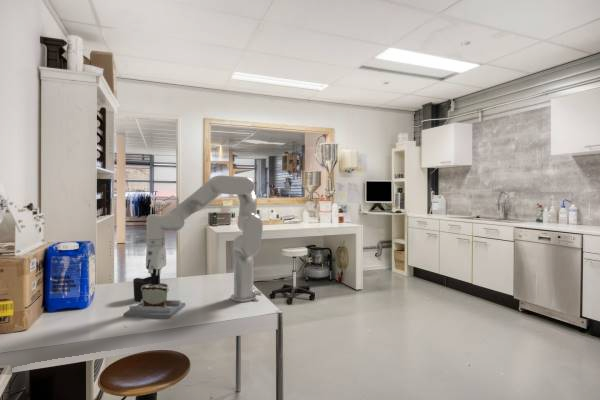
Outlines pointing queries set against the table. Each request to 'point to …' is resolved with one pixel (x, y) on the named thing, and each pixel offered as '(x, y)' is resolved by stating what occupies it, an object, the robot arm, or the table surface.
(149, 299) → the food container
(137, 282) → the pen holder
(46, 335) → the table surface
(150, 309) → the rail plate
